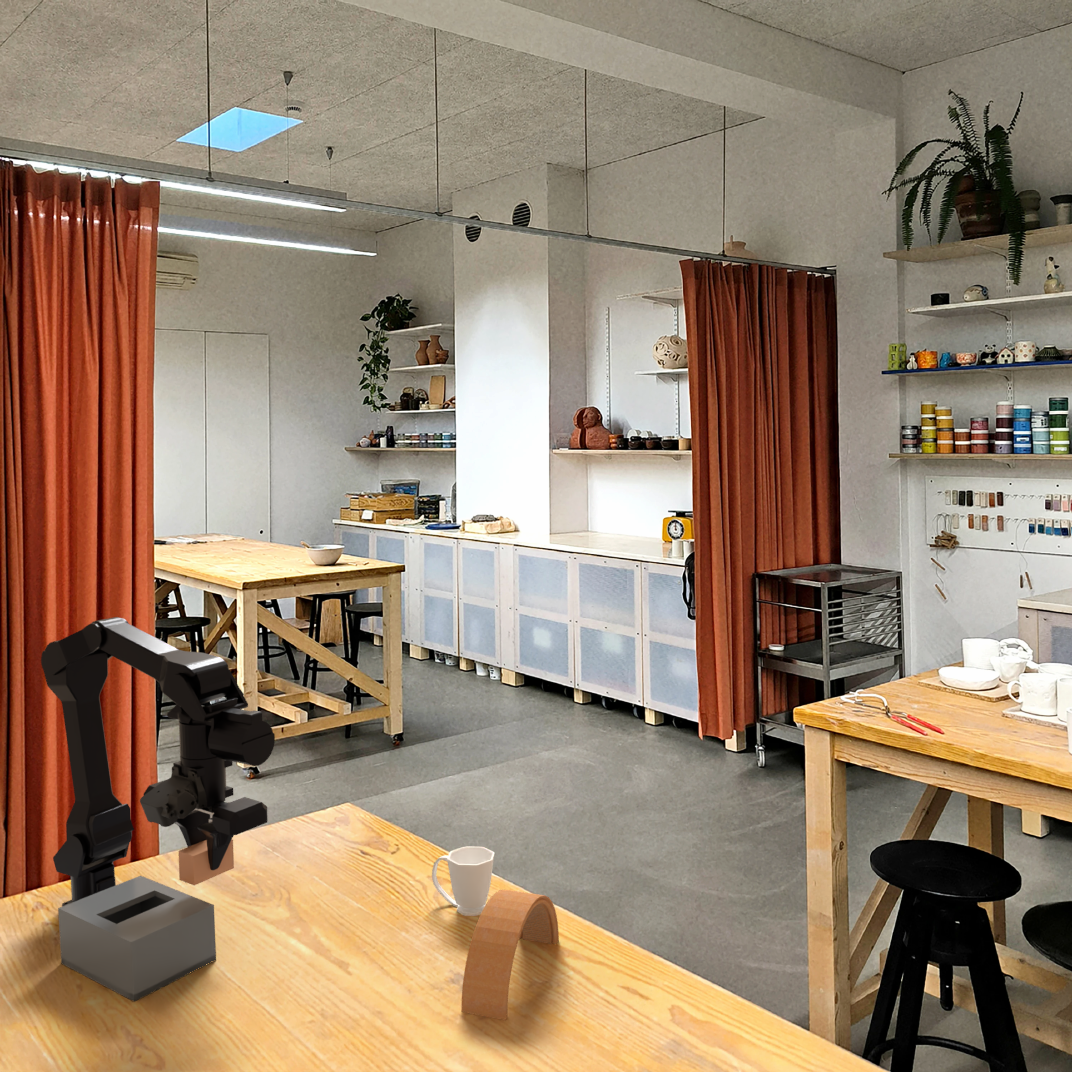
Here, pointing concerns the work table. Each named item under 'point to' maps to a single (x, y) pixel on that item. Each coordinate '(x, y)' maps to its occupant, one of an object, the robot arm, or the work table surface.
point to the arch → (503, 947)
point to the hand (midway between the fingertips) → (206, 866)
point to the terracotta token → (201, 863)
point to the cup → (467, 878)
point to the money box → (137, 936)
